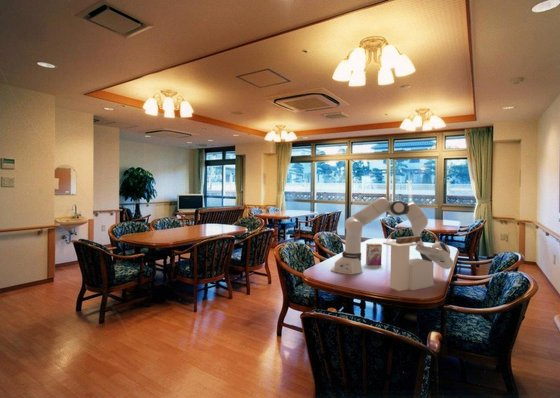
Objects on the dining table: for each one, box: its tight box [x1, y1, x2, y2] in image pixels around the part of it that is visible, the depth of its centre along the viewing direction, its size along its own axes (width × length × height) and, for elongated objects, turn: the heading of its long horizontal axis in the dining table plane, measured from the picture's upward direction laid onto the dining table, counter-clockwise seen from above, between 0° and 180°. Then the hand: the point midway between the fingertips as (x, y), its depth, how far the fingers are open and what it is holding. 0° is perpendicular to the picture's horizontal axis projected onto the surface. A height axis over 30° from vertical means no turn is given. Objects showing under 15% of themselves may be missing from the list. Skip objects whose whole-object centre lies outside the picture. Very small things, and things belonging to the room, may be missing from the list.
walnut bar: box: [395, 235, 421, 244], centre depth 196 cm, size 18×3×3 cm, turn 118°
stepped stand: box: [382, 240, 435, 292], centre depth 197 cm, size 31×12×28 cm, turn 118°
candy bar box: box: [365, 243, 383, 266], centre depth 253 cm, size 11×5×16 cm, turn 92°
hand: (424, 246), depth 203 cm, fingers open, 8 cm apart
